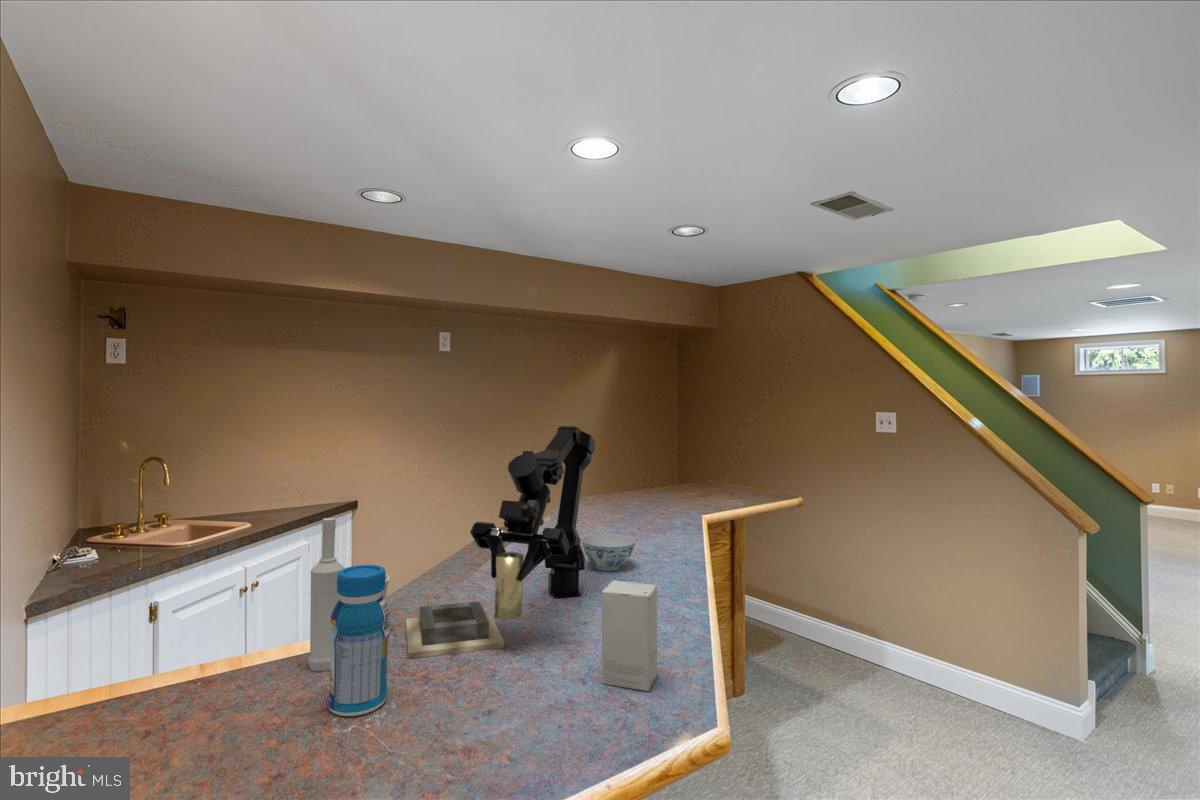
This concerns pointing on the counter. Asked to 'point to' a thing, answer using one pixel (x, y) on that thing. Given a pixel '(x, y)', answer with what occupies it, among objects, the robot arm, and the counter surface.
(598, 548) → the chinaware
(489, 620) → the jig plate
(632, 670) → the skincare box
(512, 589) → the cylinder
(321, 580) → the bottle
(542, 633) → the counter surface
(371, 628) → the beverage bottle
